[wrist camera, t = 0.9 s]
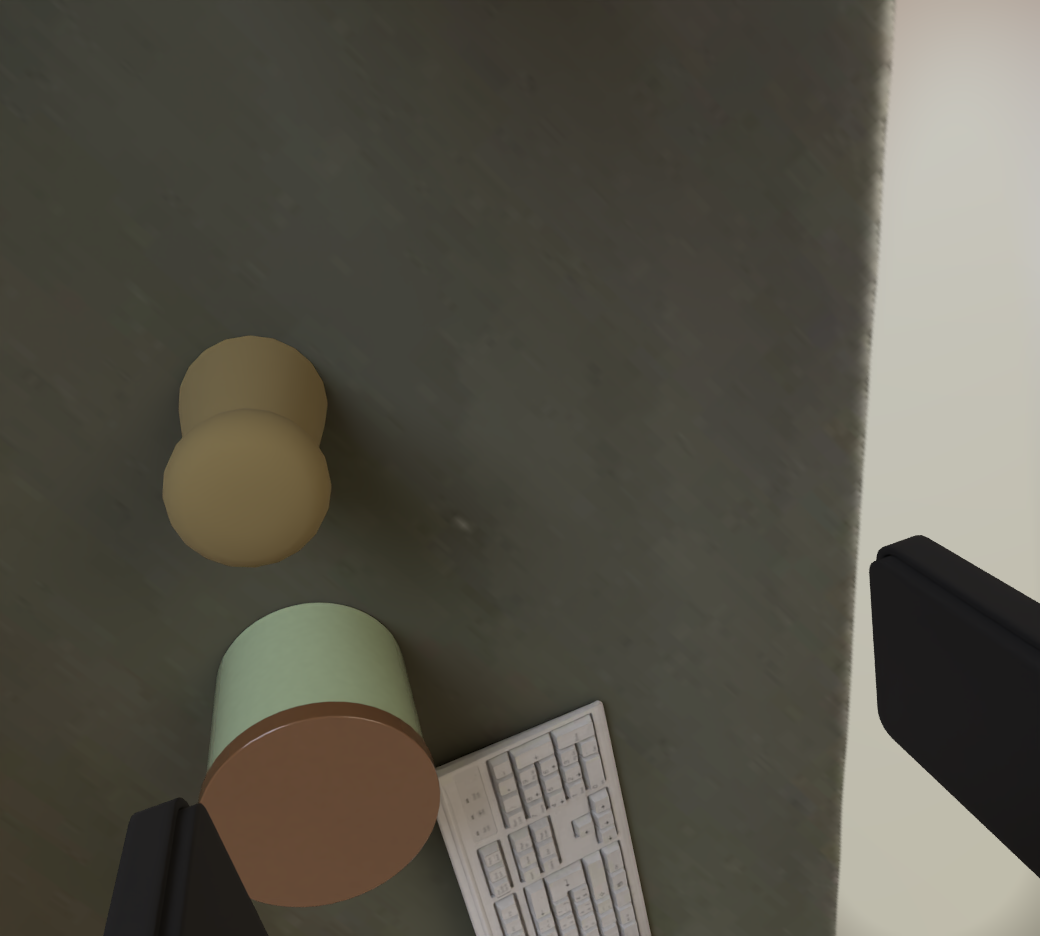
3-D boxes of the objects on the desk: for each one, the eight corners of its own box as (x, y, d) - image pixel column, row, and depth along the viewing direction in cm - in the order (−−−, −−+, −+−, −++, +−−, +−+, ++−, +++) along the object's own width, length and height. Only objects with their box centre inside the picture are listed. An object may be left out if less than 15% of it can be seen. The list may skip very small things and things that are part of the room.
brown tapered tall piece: (145, 394, 34) (93, 499, 25) (264, 306, 34) (260, 375, 24) (246, 498, 37) (236, 631, 27) (356, 416, 37) (386, 519, 27)
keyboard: (668, 1023, 58) (680, 1051, 56) (527, 1083, 57) (536, 1115, 55) (599, 695, 46) (612, 718, 44) (418, 760, 45) (424, 787, 43)
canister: (168, 672, 39) (140, 813, 31) (339, 562, 39) (357, 673, 31) (288, 792, 43) (292, 944, 35) (443, 692, 43) (482, 819, 35)
